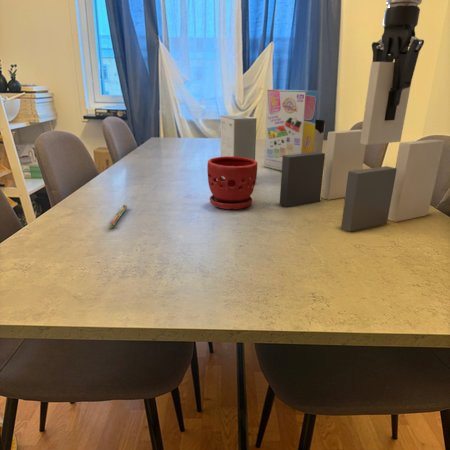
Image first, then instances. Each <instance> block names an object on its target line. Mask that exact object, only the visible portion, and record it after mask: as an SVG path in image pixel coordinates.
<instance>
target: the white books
mask: <svg viewBox="0 0 450 450" xmlns="http://www.w3.org/2000/svg"><path fill="white" fill-rule="evenodd" d="M361 133H362V129H350V130H349V129H348V130H336V131H328V132H327V139H326V149H325V158H324V168H323V177H322V187H321V196H320V199H324V200H327V201H331V200H335V199H336V200H337V199H342V198H345V194H346V187H347V179H348V171H354V170H362V169H364V160H365V153H366V147H367V145H366V144H360V140H361ZM444 144H445V140H442V139H436V138H435V139H434V138H432V139H422V140H411V141H402V142H401V141H400V142H399V145H398V150H397V156H396V161H395V166H394V168H397V171H396V176H395V182H394V187H393V193H392V198H391V204H390V209H389V215H388V220H387V221H392V222H394V223H398V222H401V221H407V220H411V219H416V218H421V217H426V216H428V215H429V212H430V207H431V203H432V198H433V193H434V189H435V185H436V180H437V177H438V172H439V168H440V162H441V158H442V155H443V150H444Z"/></svg>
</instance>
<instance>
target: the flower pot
mask: <svg viewBox="0 0 450 450" xmlns="http://www.w3.org/2000/svg"><path fill="white" fill-rule="evenodd" d="M206 164H207V167H206V168H207V184H208V187H209V191H210V192H211V194H212V195H211V196H209V202H210V203H211V205H213V206H214V207H216V208H218V209H219V208H220V209H223V210H240V209H244V208H245V209H246V208H247V207H249V206H250V205H251V204H252V203H253V198H252V194H253V192H254V189H255V186H256V182H257V176H258V161H256V159H255V160H253V159H249V158H244V157H231V156H225V157H221V156H216V157H212V158H210V159H208V160H207V163H206ZM222 176H223V177H224V178H225V179H224V178H223V177H222ZM250 178H251V179H250Z"/></svg>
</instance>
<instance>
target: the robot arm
mask: <svg viewBox="0 0 450 450" xmlns="http://www.w3.org/2000/svg"><path fill="white" fill-rule="evenodd" d="M422 2H423V0H386V1H385V5H386V6H387V8H385V9H384V13H383V20H382V27H383V33H382V35H381V38H380V39H379V40H378V41H373V42H372V43H371V50H372V60H371V63H372V62H394V75H393V88H390V90H391V91H389V96H388V102H387V108H386V114H385V120H386V121H388V120H395V114H396V108H397V106H398V105H399V103H400V97H401V92H402V90H403V89H405V88H409V87H410V85H411V86H412V81H413V77H414V73H415V70H416V66H417V62H418V58H419V54H420V52H421V49H422V48H423V46H424V44H425V41H424V39H420V38H418V37H416V30H415V29H416V27H417V26H418V23H419V18H420V12H421V8H420V7H419V6H420V5H421V4H422ZM410 88H411V87H410Z"/></svg>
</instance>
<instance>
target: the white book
mask: <svg viewBox="0 0 450 450" xmlns="http://www.w3.org/2000/svg"><path fill="white" fill-rule="evenodd" d="M393 75H394V61H393V62H372V61H371V64H370V71H369V78H368V83H367V91H366V99H365V105H364V113H363V114H364V115H363V119H362V127H361V130H362V133H361V140H360V144H366V146H371V145H380V144H389V143H390V144H391V143H401V141H402V140H401V139H402V136H403V129H404V125H405V119H406V114H407V109H408V103H409V99H410V97H409V96H410V91H411V88H412V87H411V86H412V84H411V85H410V87H409V88H405V89H403V90H402V92H401V97H400V103H399V105H398V106H397V108H396V114H395V120H388V121H386V120H385V114H386V108H387V102H388V96H389V91H391V90H390V88H393Z"/></svg>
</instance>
